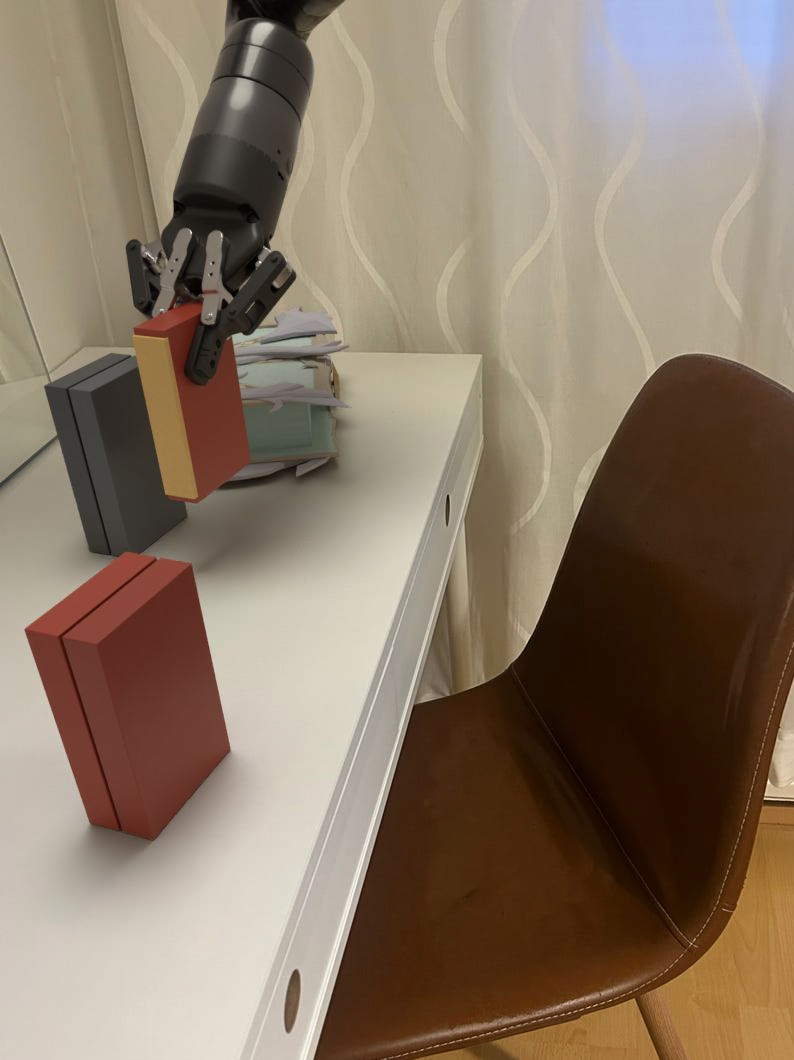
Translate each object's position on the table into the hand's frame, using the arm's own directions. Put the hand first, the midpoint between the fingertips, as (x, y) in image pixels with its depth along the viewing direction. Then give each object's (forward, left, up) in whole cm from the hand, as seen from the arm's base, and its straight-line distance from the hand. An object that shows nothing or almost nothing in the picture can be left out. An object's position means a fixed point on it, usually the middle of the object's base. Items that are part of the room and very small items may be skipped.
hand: (176, 377), depth 70 cm
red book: (-1, +2, -9) cm, 9 cm away
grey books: (-9, 0, -15) cm, 17 cm away
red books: (+18, -20, -15) cm, 31 cm away
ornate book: (-17, +21, -15) cm, 31 cm away
